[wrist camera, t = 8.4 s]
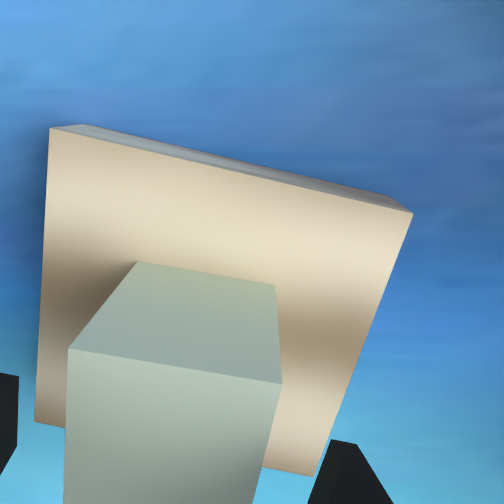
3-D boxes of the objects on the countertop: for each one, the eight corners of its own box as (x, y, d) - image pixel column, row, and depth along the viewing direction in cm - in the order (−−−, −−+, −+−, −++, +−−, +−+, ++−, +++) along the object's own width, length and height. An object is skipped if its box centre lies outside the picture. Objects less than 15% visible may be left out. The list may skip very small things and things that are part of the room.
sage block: (250, 396, 15) (245, 532, 10) (127, 375, 15) (63, 504, 10) (275, 285, 13) (282, 384, 9) (138, 260, 13) (67, 348, 8)
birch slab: (305, 421, 19) (313, 476, 16) (69, 372, 18) (33, 421, 15) (385, 193, 15) (413, 213, 12) (91, 123, 15) (49, 127, 12)
